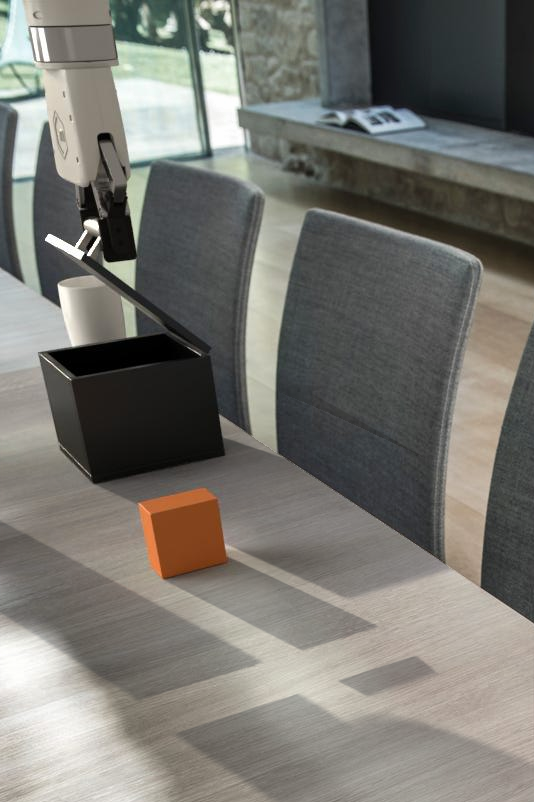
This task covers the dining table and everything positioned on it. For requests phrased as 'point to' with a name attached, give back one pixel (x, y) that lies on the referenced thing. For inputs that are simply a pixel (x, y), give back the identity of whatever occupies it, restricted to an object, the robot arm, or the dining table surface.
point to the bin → (133, 404)
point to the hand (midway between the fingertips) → (111, 253)
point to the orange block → (183, 532)
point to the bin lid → (119, 281)
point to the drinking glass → (91, 311)
